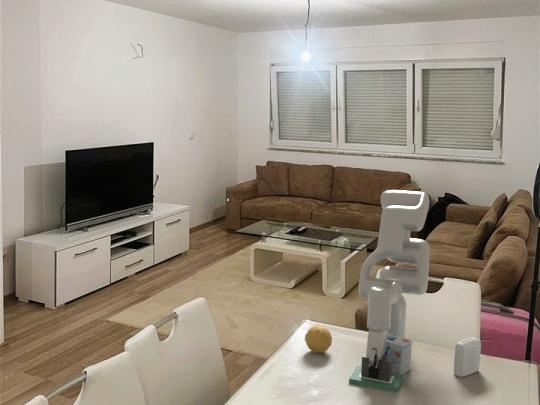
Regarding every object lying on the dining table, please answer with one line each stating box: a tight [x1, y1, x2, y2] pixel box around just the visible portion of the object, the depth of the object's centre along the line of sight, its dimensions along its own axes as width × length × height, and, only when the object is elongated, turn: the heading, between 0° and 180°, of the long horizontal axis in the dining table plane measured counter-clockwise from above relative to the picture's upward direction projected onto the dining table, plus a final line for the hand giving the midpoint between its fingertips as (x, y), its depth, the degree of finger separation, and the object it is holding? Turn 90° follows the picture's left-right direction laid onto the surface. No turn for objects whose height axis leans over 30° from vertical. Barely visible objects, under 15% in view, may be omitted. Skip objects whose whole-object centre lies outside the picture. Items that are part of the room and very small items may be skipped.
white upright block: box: [453, 336, 482, 378], centre depth 195 cm, size 10×4×12 cm, turn 123°
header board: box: [348, 365, 404, 394], centre depth 190 cm, size 10×16×5 cm, turn 66°
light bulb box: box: [385, 333, 413, 375], centre depth 199 cm, size 11×7×11 cm, turn 47°
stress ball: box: [304, 325, 333, 354], centre depth 211 cm, size 10×10×10 cm
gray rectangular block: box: [361, 351, 393, 382], centre depth 189 cm, size 4×9×7 cm, turn 66°
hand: (376, 371), depth 189 cm, fingers open, 9 cm apart
